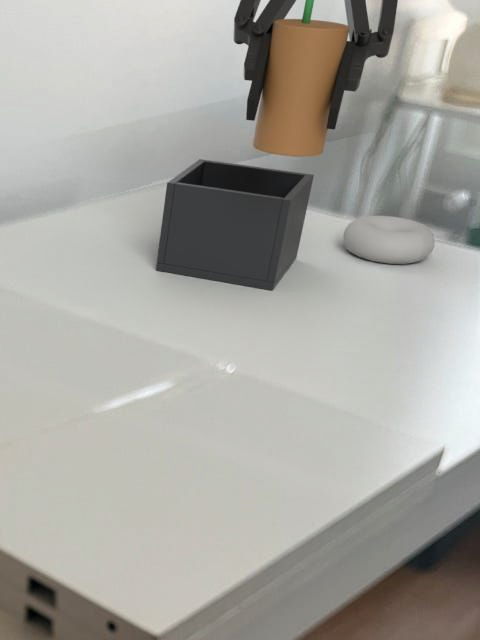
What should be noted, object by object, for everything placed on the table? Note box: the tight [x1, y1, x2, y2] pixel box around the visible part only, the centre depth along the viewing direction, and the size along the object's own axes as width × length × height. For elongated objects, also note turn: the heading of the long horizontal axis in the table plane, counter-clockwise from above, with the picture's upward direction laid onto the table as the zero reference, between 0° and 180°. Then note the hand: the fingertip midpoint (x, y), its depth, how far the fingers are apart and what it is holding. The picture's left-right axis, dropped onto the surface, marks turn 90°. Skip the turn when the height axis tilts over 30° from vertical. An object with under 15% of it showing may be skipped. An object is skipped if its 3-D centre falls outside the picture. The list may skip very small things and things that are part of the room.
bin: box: [155, 158, 315, 291], centre depth 110 cm, size 13×13×9 cm
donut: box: [343, 215, 436, 265], centre depth 117 cm, size 10×4×10 cm
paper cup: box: [252, 0, 349, 158], centre depth 91 cm, size 6×6×14 cm
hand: (291, 114), depth 91 cm, fingers closed on paper cup, 6 cm apart
